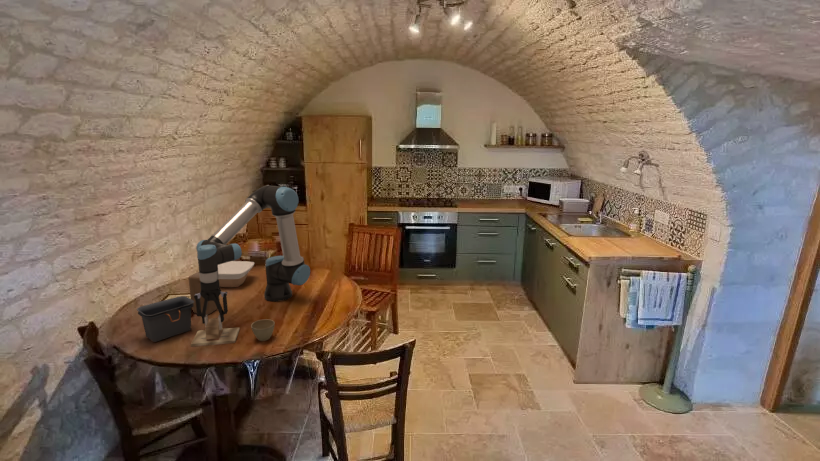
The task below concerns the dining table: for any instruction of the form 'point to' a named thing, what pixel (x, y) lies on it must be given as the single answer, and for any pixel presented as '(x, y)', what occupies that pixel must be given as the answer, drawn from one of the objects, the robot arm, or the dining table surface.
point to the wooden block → (196, 288)
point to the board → (226, 337)
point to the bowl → (233, 273)
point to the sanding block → (213, 329)
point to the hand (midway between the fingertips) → (214, 328)
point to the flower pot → (263, 329)
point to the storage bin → (166, 317)
